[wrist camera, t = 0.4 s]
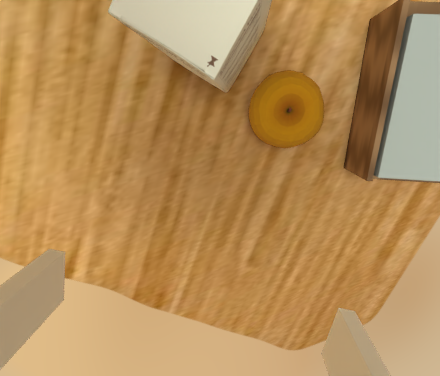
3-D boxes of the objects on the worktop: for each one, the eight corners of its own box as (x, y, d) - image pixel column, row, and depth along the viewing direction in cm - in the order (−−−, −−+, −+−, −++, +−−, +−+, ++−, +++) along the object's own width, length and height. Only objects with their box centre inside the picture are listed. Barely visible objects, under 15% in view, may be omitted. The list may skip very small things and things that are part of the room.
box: (370, 19, 33) (404, -4, 26) (475, 23, 33) (538, 0, 26) (343, 167, 38) (366, 180, 31) (434, 173, 38) (478, 187, 31)
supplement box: (266, 27, 34) (291, -46, 18) (227, 95, 37) (218, 84, 20) (199, -18, 33) (162, -137, 17) (164, 54, 36) (102, 11, 20)
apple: (325, 116, 37) (351, 118, 28) (272, 156, 38) (281, 169, 30) (287, 61, 35) (303, 46, 27) (234, 105, 37) (232, 104, 28)
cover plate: (404, 18, 28) (413, 13, 26) (509, 22, 27) (524, 17, 26) (371, 174, 32) (378, 177, 31) (461, 180, 32) (472, 183, 30)
